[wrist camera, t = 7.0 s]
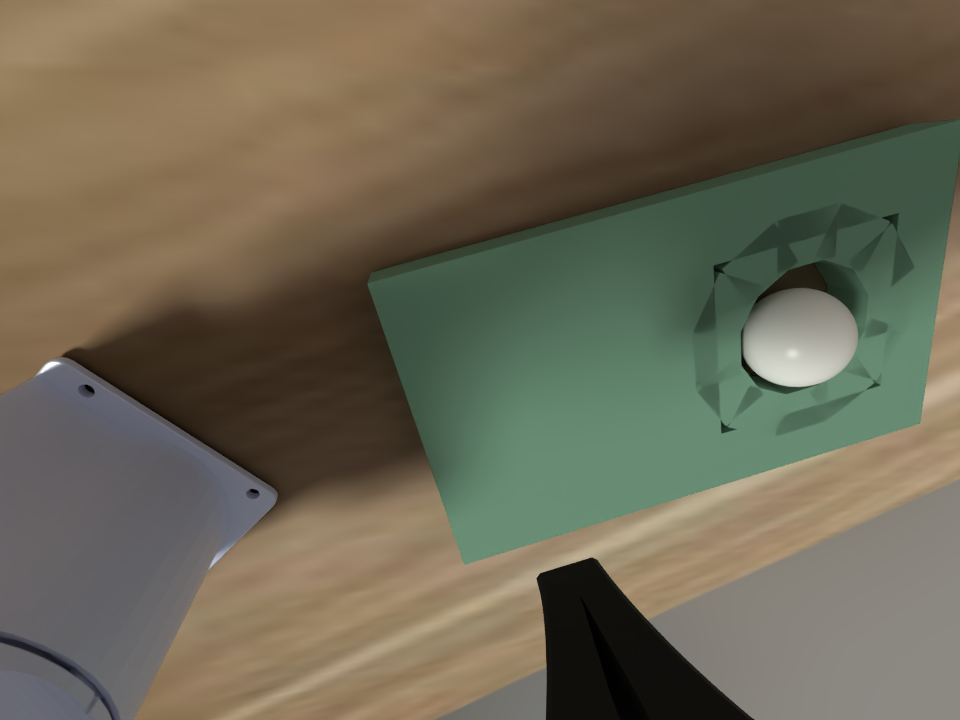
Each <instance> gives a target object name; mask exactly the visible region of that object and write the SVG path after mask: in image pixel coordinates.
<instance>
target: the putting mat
mask: <svg viewBox="0 0 960 720" xmlns="http://www.w3.org/2000/svg"><path fill="white" fill-rule="evenodd" d="M959 156H960V119H954V120H944V121H934V122H925V123H915V124H908V125H904V126H901V127H897V128H893V129H890V130H886V131H883V132H879V133H875V134H872V135H868V136H864V137H861V138H857V139H854V140H850V141H846V142H843V143H839V144H835V145H832V146H828V147H824V148H821V149H817V150H814V151H810V152H806V153H803V154H799V155H795V156H792V157H788V158H784V159H781V160H777V161H774V162H770V163H766V164H763V165H759V166H755V167H752V168H748V169H745V170H741V171H737V172H734V173H730V174H726V175H723V176H719V177H715V178H712V179H708V180H705V181H701V182H697V183H694V184H690V185H686V186H683V187H679V188H676V189H672V190H668V191H665V192H661V193H657V194H654V195H650V196H646V197H643V198H639V199H636V200H632V201H628V202H625V203H621V204H617V205H614V206H610V207H607V208H603V209H599V210H596V211H592V212H588V213H585V214H581V215H577V216H574V217H570V218H567V219H563V220H559V221H556V222H552V223H548V224H545V225H541V226H537V227H534V228H530V229H527V230H523V231H519V232H516V233H512V234H508V235H505V236H501V237H498V238H494V239H490V240H487V241H483V242H479V243H476V244H472V245H468V246H465V247H461V248H458V249H454V250H450V251H447V252H443V253H439V254H436V255H432V256H429V257H425V258H421V259H418V260H414V261H410V262H407V263H403V264H399V265H396V266H392V267H389V268H385V269H381V270H378V271H374V272H371V274H370V277H369V280H368V282H367V285H368V288H369V290H370V293H371V296H372V299H373V302H374V305H375V308H376V311H377V314H378V316H379V319H380V322H381V325H382V328H383V331H384V334H385V337H386V340H387V343H388V345H389V348H390V351H391V354H392V357H393V360H394V363H395V366H396V369H397V371H398V374H399V377H400V380H401V383H402V386H403V389H404V392H405V395H406V398H407V400H408V403H409V406H410V409H411V412H412V415H413V418H414V421H415V424H416V426H417V429H418V432H419V435H420V438H421V441H422V444H423V447H424V450H425V453H426V455H427V458H428V461H429V464H430V467H431V470H432V473H433V476H434V479H435V481H436V484H437V487H438V490H439V493H440V496H441V499H442V502H443V505H444V508H445V510H446V513H447V516H448V519H449V522H450V525H451V528H452V531H453V534H454V536H455V539H456V542H457V545H458V548H459V551H460V554H461V557H462V560H463V563H464V565H465V564H468V563H472V562H475V561H478V560H481V559H484V558H488V557H491V556H494V555H497V554H501V553H504V552H507V551H510V550H513V549H517V548H520V547H523V546H526V545H530V544H533V543H536V542H539V541H543V540H546V539H549V538H552V537H555V536H559V535H562V534H565V533H568V532H572V531H575V530H578V529H581V528H584V527H588V526H591V525H594V524H597V523H601V522H604V521H607V520H610V519H614V518H617V517H620V516H623V515H626V514H630V513H633V512H636V511H639V510H643V509H646V508H649V507H652V506H655V505H659V504H662V503H665V502H668V501H672V500H675V499H678V498H681V497H684V496H688V495H691V494H694V493H697V492H701V491H704V490H707V489H710V488H714V487H717V486H720V485H723V484H726V483H730V482H733V481H736V480H739V479H743V478H746V477H749V476H752V475H755V474H759V473H762V472H765V471H768V470H772V469H775V468H778V467H781V466H785V465H788V464H791V463H794V462H797V461H801V460H804V459H807V458H810V457H814V456H817V455H820V454H823V453H826V452H830V451H833V450H836V449H839V448H843V447H846V446H849V445H852V444H855V443H859V442H862V441H865V440H868V439H872V438H875V437H878V436H881V435H885V434H888V433H891V432H894V431H897V430H901V429H904V428H907V427H910V426H914V425H917V424H920V420H921V413H922V406H923V399H924V393H925V386H926V379H927V372H928V365H929V359H930V352H931V345H932V338H933V332H934V325H935V318H936V311H937V305H938V298H939V291H940V284H941V277H942V271H943V264H944V257H945V250H946V244H947V237H948V230H949V223H950V216H951V210H952V203H953V196H954V189H955V183H956V176H957V169H958V162H959ZM811 263H814V264H815V266H816V267H817V269H818V271H819V272H820V274H821V276H822V277H823V279H824V281H825V282H826V284H827V294H829V295H832V296H833V297H835V298H837V299H838V300H839V301H841V302H842V303H843V304H844V305H845V306H846V307H847V308H848V309H849V311H850V312H851V314H852V315H853V317H854V319H855V322H856V324H857V329H858V344H857V348H856V351H855V353H854V355H853V357H852V359H851V360H850V362H849V363H848V365H847V366H846V367H845V368H844V369H843V370H842V371H841V372H839V373H838V374H837V375H835V376H834V377H832V378H830V379H829V380H826V381H824V382H822V383H819V384H815V385H811V386H805V387H789V386H783V385H779V384H775V383H772V382H770V381H768V380H766V379H764V378H762V377H761V376H759V375H756V376H752V375H748V374H747V372H746V371H745V370H744V368H743V367H742V366H741V331H742V329H743V326H744V324H745V322H746V320H747V318H748V316H749V314H750V312H751V310H752V308H753V306H754V304H755V301H756V299H757V297H758V296H759V295H761V294H762V293H763V292H764V291H765V290H766V289H767V288H769V287H770V286H771V285H772V284H773V283H774V282H775V281H777V280H778V279H779V278H780V277H781V276H782V275H783V274H784V273H786V272H787V271H788V270H790V269H793V268H797V267H800V266H804V265H807V264H811Z"/></svg>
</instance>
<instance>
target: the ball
mask: <svg viewBox="0 0 960 720" xmlns="http://www.w3.org/2000/svg"><path fill="white" fill-rule="evenodd" d="M857 344H858V329H857V324H856V322H855V319H854V317H853V315H852V314H851V312H850V311H849V309H848V308H847V307H846V306H845V305H844V304H843V303H842V302H841V301H839V300H838V299H837V298H835V297H833V296H832V295H829V294H827V293H825V292H822V291H819V290H815V289H810V288H791V289H785V290H781V291H778V292H775V293H773V294H770V295H768V296H766V297H764V298H763V299H761V300H760V301H759V302H757V303H756V304H755V305H754V306H753V308H752V310H751V312H750V314H749V316H748V318H747V320H746V322H745V324H744V326H743V329H742V331H741V353H742V355H743V358H744V360H745V361H746V363H747V364H748V365H749V367H750V368H751V369H752V370H753V371H754V372H755V373H757V374H758V375H759V376H761V377H762V378H764V379H766V380H768V381H770V382H772V383H775V384H779V385H783V386H789V387H805V386H811V385H815V384H819V383H822V382H824V381H826V380H829V379H830V378H832V377H834V376H835V375H837V374H838V373H839V372H841V371H842V370H843V369H844V368H845V367H846V366H847V365H848V363H849V362H850V360H851V359H852V357H853V355H854V353H855V351H856V348H857Z"/></svg>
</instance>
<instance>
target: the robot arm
mask: <svg viewBox="0 0 960 720" xmlns="http://www.w3.org/2000/svg"><path fill="white" fill-rule="evenodd" d="M85 384H87V385H89V386H91V387H92V388H93V389H94V391H95V393H91V392H89V391H88V390H87V389H86V388H85ZM249 489H256V490H258V492H259V493H252V492H251V491H250V490H249ZM277 497H278V494H277V492H276V490H275V489H274V488H273V487H271V486H269V485H268V484H266V483H265V482H263V481H262V480H260V479H258V478H257V477H255V476H254V475H252V474H251V473H249V472H247V471H246V470H244V469H243V468H241V467H240V466H238V465H236V464H235V463H233V462H232V461H230V460H229V459H227V458H225V457H224V456H222V455H221V454H219V453H218V452H216V451H214V450H213V449H211V448H210V447H208V446H207V445H205V444H203V443H202V442H200V441H199V440H197V439H196V438H194V437H192V436H191V435H189V434H188V433H186V432H185V431H183V430H181V429H180V428H178V427H177V426H175V425H174V424H172V423H170V422H169V421H167V420H166V419H164V418H163V417H161V416H159V415H158V414H156V413H155V412H153V411H152V410H150V409H148V408H147V407H145V406H144V405H142V404H141V403H139V402H137V401H136V400H134V399H133V398H131V397H130V396H128V395H126V394H125V393H123V392H122V391H120V390H119V389H117V388H115V387H114V386H112V385H111V384H109V383H108V382H106V381H104V380H103V379H101V378H100V377H98V376H97V375H95V374H93V373H92V372H90V371H89V370H87V369H86V368H84V367H82V366H81V365H79V364H78V363H76V362H75V361H73V360H71V359H68V358H64V357H59V358H55V359H53V360H51V361H49V362H48V363H46V364H45V365H44V366H43V367H42V369H41V370H40V371H39V372H38V373H37V375H36V376H35V377H33V378H31V379H29V380H28V381H26V382H24V383H22V384H20V385H18V386H17V387H15V388H13V389H11V390H9V391H7V392H5V393H4V394H2V395H0V720H134V719H135V717H136V715H137V712H138V710H139V708H140V706H141V704H142V702H143V700H144V698H145V696H146V694H147V692H148V690H149V688H150V686H151V684H152V682H153V680H154V678H155V676H156V674H157V672H158V670H159V668H160V666H161V664H162V662H163V660H164V658H165V656H166V654H167V652H168V650H169V648H170V646H171V644H172V642H173V640H174V638H175V636H176V634H177V632H178V630H179V628H180V626H181V624H182V622H183V620H184V618H185V616H186V614H187V612H188V610H189V607H190V605H191V603H192V601H193V599H194V597H195V595H196V593H197V591H198V589H199V587H200V585H201V583H202V581H203V579H204V577H205V575H206V573H207V571H208V570H209V569H210V568H211V567H212V566H213V565H214V564H215V563H216V562H217V561H218V560H219V559H220V558H221V557H222V556H223V555H224V554H225V553H226V552H227V551H228V550H229V549H230V548H231V547H232V546H233V545H234V544H235V543H236V542H237V541H238V540H239V539H241V538H242V537H243V536H244V535H245V534H246V533H247V532H248V531H249V530H250V529H251V528H252V527H253V526H254V525H255V524H256V523H257V522H258V521H259V520H260V519H261V518H262V517H263V516H264V515H265V514H266V513H267V512H268V511H269V510H270V509H271V508H272V507H273V506H274V504H275V503H276V500H277ZM536 579H537V582H538V586H539V590H540V594H541V600H542V606H543V614H544V624H545V636H546V663H547V699H546V700H547V701H546V720H754V719H753V718H751V717H750V716H749V715H748V714H747V713H745V712H744V711H743V710H742V709H741V708H739V707H738V706H737V705H736V704H735V703H734V702H732V701H731V700H730V699H729V698H728V697H727V696H725V695H724V694H723V693H722V692H721V691H720V690H718V688H717V687H715V686H714V685H713V684H712V683H711V682H710V681H709V680H708V679H707V678H705V677H704V676H703V675H702V674H701V673H700V672H699V671H698V670H697V669H696V668H695V667H694V666H693V665H692V664H690V663H689V662H688V661H687V660H686V659H685V658H684V657H683V656H682V655H681V654H680V653H679V652H678V651H677V650H676V649H675V648H674V647H673V646H672V645H671V644H670V643H669V642H668V641H667V640H666V639H665V638H664V637H663V636H662V635H661V634H660V633H659V632H658V631H657V630H656V629H655V628H654V627H653V625H651V623H650V622H649V621H648V620H647V619H646V618H645V617H644V616H643V615H642V614H641V613H640V612H639V611H638V610H637V608H636V607H635V606H634V605H633V604H632V603H631V602H630V600H629V599H628V598H627V597H626V596H625V595H624V594H623V592H622V591H621V590H620V589H619V588H618V586H617V585H616V584H615V583H614V582H613V580H612V579H611V578H610V577H609V575H608V574H607V573H606V571H605V570H604V569H603V567H602V566H601V565H600V563H599V562H598V560H596V559H594V558H589V559H586V560H582V561H579V562H576V563H572V564H569V565H566V566H563V567H559V568H556V569H553V570H549V571H546V572H543V573H540V574H539V576H538V577H537V578H536Z"/></svg>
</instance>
